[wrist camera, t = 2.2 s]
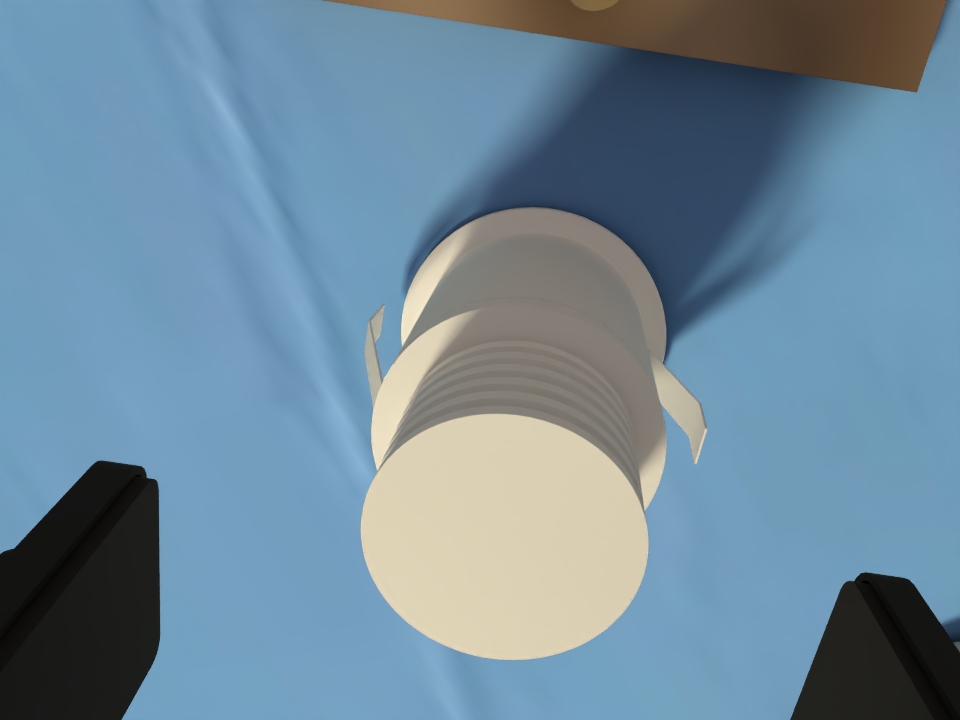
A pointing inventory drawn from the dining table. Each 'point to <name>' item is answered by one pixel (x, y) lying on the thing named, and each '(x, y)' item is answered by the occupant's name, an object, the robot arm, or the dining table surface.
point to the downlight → (520, 436)
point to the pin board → (728, 30)
